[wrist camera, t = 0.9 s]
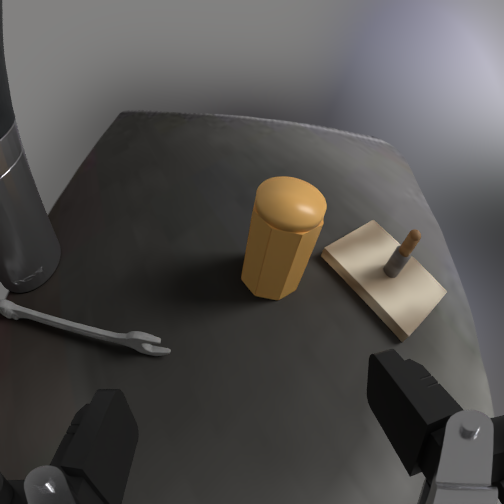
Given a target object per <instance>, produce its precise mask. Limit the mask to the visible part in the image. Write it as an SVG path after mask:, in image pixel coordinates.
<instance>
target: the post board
mask: <svg viewBox="0 0 504 504" xmlns="http://www.w3.org/2000/svg"><path fill="white" fill-rule="evenodd" d="M420 239H421V234H420V232H419V231H418V230H411V231H410V233H409V234H408V236H407V237H406V239H405V240H404V242H403V243H402V245H400V244H399V243H398V242H397V241H396V240H395V239H394V238H393V237H392V236H391V235H389V234H388V233H387V232H386V231H385V230H384V229H383V228H382V227H381V226H380V225H379V224H378V223H376V222H375V221H374V220H372V221H370V222H369V223H367V224H365V225H363V226H362V227H360V228H358V229H357V230H355V231H353V232H351V233H350V234H348V235H346V236H344V237H343V238H341V239H339V240H337V241H336V242H334V243H332V244H330V245H329V246H327V247H325V248H324V250H323V252H322V254H321V257H322V258H323V259H324V260H325V261H326V262H327V263H328V264H329V265H330V266H331V267H332V268H333V269H334V270H335V271H336V272H337V273H338V274H339V275H340V276H341V277H342V278H343V279H344V280H345V281H346V283H347V284H348V285H349V286H350V287H351V288H352V289H353V290H354V291H355V292H356V293H357V294H358V295H359V296H360V297H361V298H362V299H363V300H364V301H365V303H366V304H367V305H368V306H369V307H370V308H371V309H372V310H373V311H374V312H375V313H376V314H377V315H378V316H379V318H380V319H381V320H382V321H383V322H384V323H385V324H386V325H387V326H388V327H389V328H390V329H391V331H392V332H393V333H394V334H395V335H396V336H397V337H398V338H399V339H400V340H401V342H403V341H404V340H405V339H406V338H407V337H409V336H410V334H411V333H412V332H413V331H414V330H415V329H416V328H417V327H418V326H419V325H420V323H421V322H422V321H423V320H424V319H425V318H426V317H427V315H428V314H429V313H430V312H431V311H432V310H433V308H434V307H435V306H436V305H437V304H438V302H439V301H440V300H441V299H442V298H443V296H444V295H445V294H446V293H447V291H446V290H445V289H444V288H443V287H442V286H441V285H440V284H439V283H438V282H437V281H436V280H435V279H434V277H433V276H432V275H431V274H430V273H429V272H428V271H427V270H426V269H425V268H424V267H423V266H422V265H421V264H420V263H419V262H418V261H417V260H416V259H415V258H414V257H413V256H412V255H411V252H412V251H413V249H414V248H415V246H416V245H417V243H418V242H419V240H420Z"/></svg>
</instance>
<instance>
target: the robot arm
mask: <svg viewBox="0 0 504 504" xmlns="http://www.w3.org/2000/svg"><path fill="white" fill-rule="evenodd" d="M60 256H61V248H60V245H59V242H58V239H57V237H56V235H55V233H54V230H53V228H52V226H51V223H50V220H49V218H48V216H47V213H46V211H45V208H44V206H43V203H42V200H41V198H40V195H39V192H38V190H37V187H36V184H35V181H34V179H33V176H32V173H31V170H30V167H29V164H28V161H27V158H26V154H25V151H24V148H23V145H22V142H21V138H20V135H19V131H18V127H17V124H16V120H15V115H14V111H13V107H12V102H11V96H10V90H9V84H8V77H7V71H6V65H5V57H4V46H3V28H2V0H0V282H1V283H2V284H3V286H4V287H5V288H6V289H8V290H9V291H12V292H17V293H23V292H28V291H31V290H33V289H36V288H37V287H39V286H41V285H42V284H43V283H44V282H46V281H47V280H48V279H49V278H50V276H51V275H52V274H53V273H54V271H55V269H56V268H57V266H58V263H59V261H60ZM367 399H368V403H369V406H370V408H371V410H372V411H373V413H374V415H375V417H376V418H377V420H378V422H379V423H380V425H381V427H382V429H383V430H384V432H385V434H386V435H387V437H388V439H389V441H390V442H391V444H392V446H393V448H394V449H395V451H396V453H397V455H398V456H399V458H400V460H401V462H402V463H403V465H404V467H405V469H406V470H407V472H408V474H409V476H410V477H411V476H413V475H415V474H418V473H420V472H423V474H424V476H425V477H426V478H425V480H424V483H423V487H422V490H421V493H420V497H419V500H418V503H417V504H497V501H498V499H499V500H500V502H501V503H502V504H504V415H503V416H499V417H495V418H489V417H488V416H487V415H486V414H484V413H482V412H480V411H476V410H463V409H462V408H461V407H460V405H459V404H458V403H457V402H456V401H455V400H454V399H453V398H452V397H451V396H450V394H449V393H448V392H447V391H446V390H445V389H444V388H443V387H442V386H441V385H440V384H438V381H437V380H436V379H435V378H434V377H433V376H432V377H431V374H430V373H429V372H428V371H427V370H426V369H425V368H424V366H423V365H421V364H419V363H417V362H415V361H413V360H411V359H408V360H405V361H404V360H403V359H402V358H401V356H400V355H399V354H398V353H397V352H396V351H395V350H394V349H389V350H386V351H382V352H378V353H374V354H371V355H370V357H369V367H368V382H367ZM66 433H67V434H65V436H64V438H63V440H62V441H61V443H60V445H59V447H58V449H57V451H56V453H55V455H54V457H53V459H52V462H51V464H50V465H49V466H41V467H38V468H36V469H34V470H32V471H31V472H30V473H29V474H28V475H27V477H26V479H25V480H8V481H7V480H6V479H5V477H4V476H3V475H2V474H1V473H0V504H122V500H123V495H124V491H125V487H126V483H127V479H128V476H129V472H130V468H131V464H132V460H133V457H134V453H135V449H136V445H137V442H138V435H139V434H138V426H137V423H136V421H135V419H134V416H133V414H132V412H131V410H130V408H129V405H128V403H127V401H126V398H125V396H124V394H123V392H122V391H121V390H120V389H99V390H97V392H96V393H95V395H94V397H93V399H92V401H91V403H90V404H86V405H85V406H84V407H82V408H81V409H80V410H79V411H78V412H77V413H76V415H75V417H74V418H73V420H72V422H71V426H69V428H68V430H67V432H66Z"/></svg>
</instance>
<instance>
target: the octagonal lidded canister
mask: <svg viewBox="0 0 504 504" xmlns="http://www.w3.org/2000/svg"><path fill="white" fill-rule="evenodd" d="M325 212H326V201H325V198H324V197H323V195H322V194H321V192H320V191H319V190H318V189H317V188H315V187H314V186H313V185H311V184H309V183H307V182H305V181H303V180H300V179H297V178H293V177H273V178H270V179H267V180H266V181H264V182H263V183H261V184H260V186H259V187H258V189H257V193H256V198H255V203H254V207H253V212H252V218H251V224H250V230H249V235H248V241H247V247H246V252H245V258H244V264H243V270H242V275H241V280H242V281H243V282H244V283H245V285H246V286H247V287H248V288H249V290H250V291H251V292H252V293H253V294H254V296H258V297H263V298H268V299H273V300H280V299H282V298H283V297H285V296H287V295H288V294H290V293H292V292H293V291H295V290H296V289H297V286H298V284H299V282H300V279H301V277H302V275H303V272H304V270H305V268H306V265H307V263H308V260H309V258H310V256H311V253H312V251H313V248H314V246H315V243H316V241H317V238H318V236H319V234H320V231H321V229H322V226H323V217H324V214H325Z"/></svg>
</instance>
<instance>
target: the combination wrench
mask: <svg viewBox="0 0 504 504" xmlns="http://www.w3.org/2000/svg"><path fill="white" fill-rule="evenodd" d="M0 313H1V314H2V315H3V316H5V317H7V318H9V319H11V318H13V319H15V320H18V319H19V318H28V319H31V320H34V321H38V322H41V323H44V324H47V325H51V326H54V327H57V328H61V329H64V330H68V331H71V332H75V333H78V334H82V335H86V336H90V337H94V338H97V339H101V340H106V341H110V342H115V343H119V344H122V345H125V346H128V347H131V348H133V349H135V350H137V351H138V352H141V353H144V354H148V355H153V356H162V355H166V354H169V353H170V351H171V350H170V349H167V348H163V347H158V346H152V345H150V344H159V343H160V342H161V339H160V338H158V337H156V336H153V335H150V334H147V333H144V332H138V331H132V332H129V333H127V334H122V333H115V332H110V331H106V330H102V329H98V328H94V327H90V326H86V325H82V324H79V323H75V322H71V321H68V320H64V319H61V318H57V317H54V316H50V315H47V314H44V313H40V312H37V311H34V310H31V309H27V308H24V307H21V306H19V305H16V304H14V303H13V302H11V301H8V300H5V299H3V300H0Z"/></svg>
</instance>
